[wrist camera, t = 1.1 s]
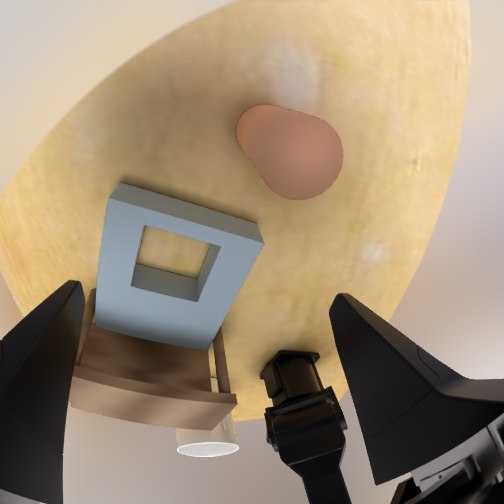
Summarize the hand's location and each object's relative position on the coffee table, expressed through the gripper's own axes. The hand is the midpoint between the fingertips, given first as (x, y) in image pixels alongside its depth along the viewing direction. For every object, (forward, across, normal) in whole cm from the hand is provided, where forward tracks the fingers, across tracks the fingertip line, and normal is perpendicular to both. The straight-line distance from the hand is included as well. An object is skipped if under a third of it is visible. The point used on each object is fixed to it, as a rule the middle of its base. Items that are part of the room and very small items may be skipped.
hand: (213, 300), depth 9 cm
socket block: (+13, +2, +9) cm, 15 cm away
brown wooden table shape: (+13, +4, +16) cm, 21 cm away
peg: (+13, -4, -4) cm, 14 cm away
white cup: (+13, -2, +30) cm, 32 cm away
